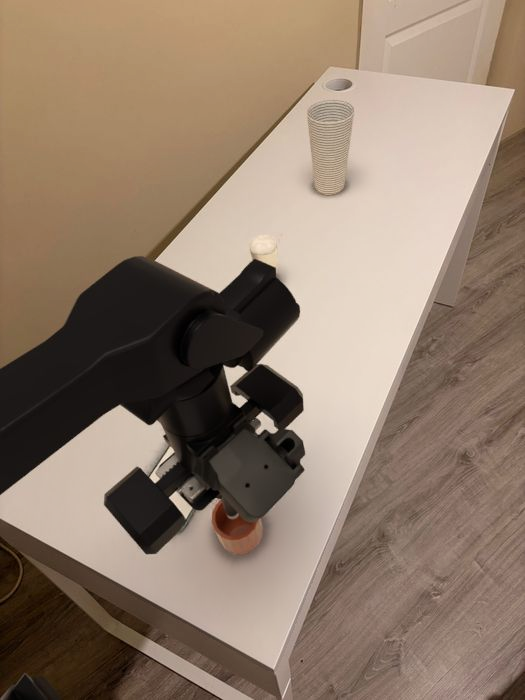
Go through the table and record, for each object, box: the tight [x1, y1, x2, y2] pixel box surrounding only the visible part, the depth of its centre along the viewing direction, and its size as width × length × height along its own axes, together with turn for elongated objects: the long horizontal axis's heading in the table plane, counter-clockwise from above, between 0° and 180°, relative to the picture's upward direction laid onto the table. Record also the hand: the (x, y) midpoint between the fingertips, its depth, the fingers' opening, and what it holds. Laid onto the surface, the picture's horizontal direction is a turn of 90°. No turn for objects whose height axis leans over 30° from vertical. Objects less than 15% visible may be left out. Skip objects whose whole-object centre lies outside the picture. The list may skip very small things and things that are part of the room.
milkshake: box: [248, 233, 283, 277], centre depth 81 cm, size 4×5×10 cm
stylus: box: [220, 497, 239, 519], centre depth 50 cm, size 1×1×11 cm
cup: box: [306, 99, 355, 196], centre depth 95 cm, size 8×8×16 cm
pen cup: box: [211, 499, 264, 555], centre depth 57 cm, size 5×5×5 cm
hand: (224, 489), depth 50 cm, fingers closed on stylus, 1 cm apart
